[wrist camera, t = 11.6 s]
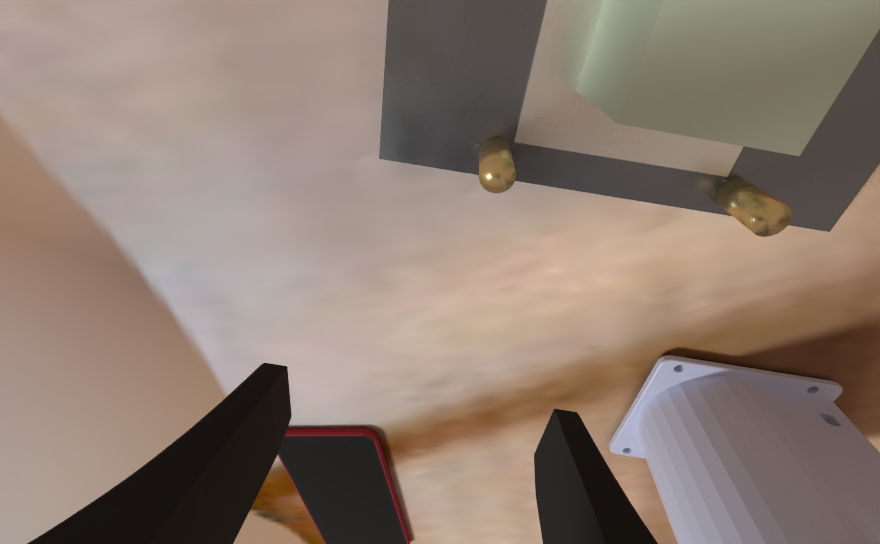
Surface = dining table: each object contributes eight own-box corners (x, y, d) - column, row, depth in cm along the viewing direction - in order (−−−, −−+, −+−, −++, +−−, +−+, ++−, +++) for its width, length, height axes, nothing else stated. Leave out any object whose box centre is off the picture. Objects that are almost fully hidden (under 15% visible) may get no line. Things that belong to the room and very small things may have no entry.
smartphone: (325, 546, 35) (265, 434, 27) (329, 535, 36) (271, 423, 28) (411, 549, 34) (374, 433, 26) (412, 537, 35) (377, 421, 27)
